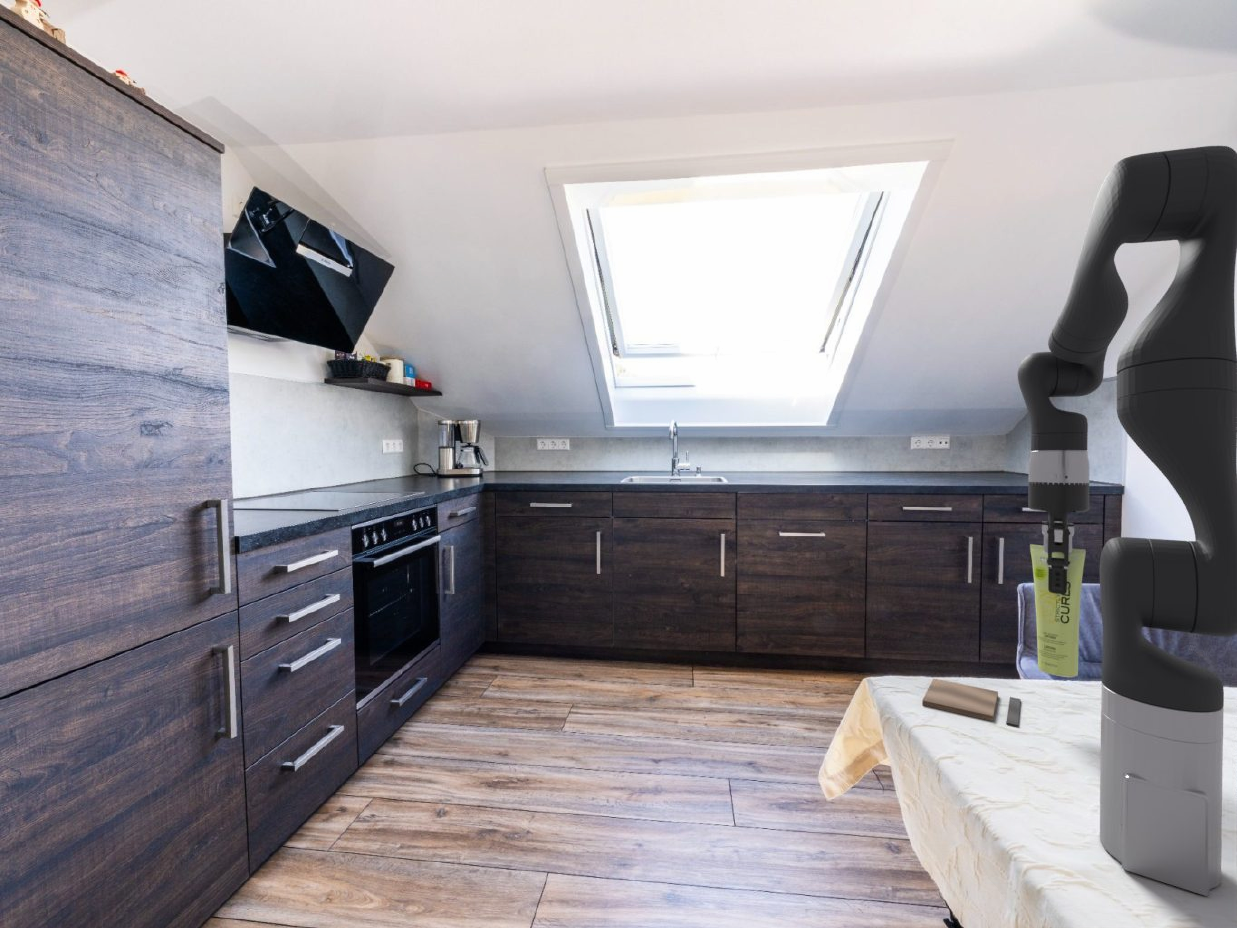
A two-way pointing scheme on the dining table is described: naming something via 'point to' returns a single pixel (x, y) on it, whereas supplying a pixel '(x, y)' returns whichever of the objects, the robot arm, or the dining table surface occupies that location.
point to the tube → (1057, 614)
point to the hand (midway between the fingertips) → (1057, 589)
